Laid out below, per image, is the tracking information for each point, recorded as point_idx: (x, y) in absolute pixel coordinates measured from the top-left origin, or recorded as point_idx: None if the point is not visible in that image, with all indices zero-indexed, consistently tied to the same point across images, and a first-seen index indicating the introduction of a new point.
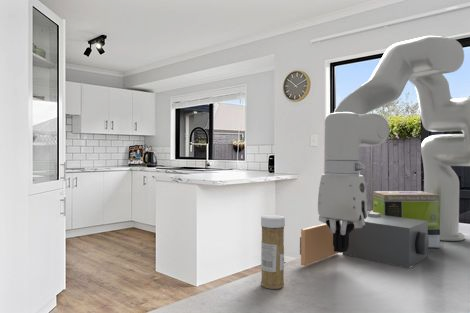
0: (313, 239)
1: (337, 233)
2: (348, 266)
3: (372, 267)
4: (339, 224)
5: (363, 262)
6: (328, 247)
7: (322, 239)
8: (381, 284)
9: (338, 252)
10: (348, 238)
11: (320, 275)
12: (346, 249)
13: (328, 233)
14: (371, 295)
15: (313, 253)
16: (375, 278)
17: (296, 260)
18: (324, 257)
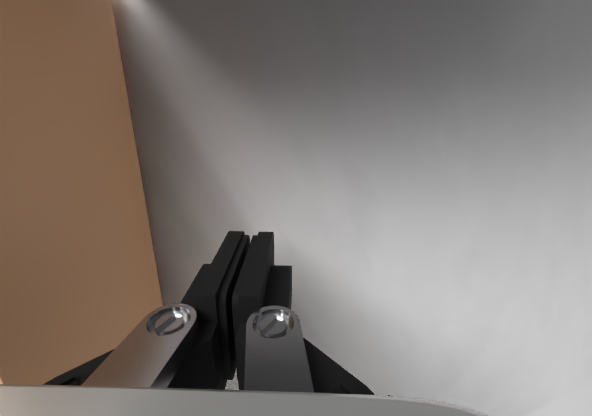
0: (88, 349)
1: (219, 372)
2: (276, 175)
3: (370, 103)
4: (168, 381)
5: (299, 48)
6: (101, 143)
7: (75, 243)
8: (463, 285)
9: (110, 4)
10: (289, 303)
11: None
12: (272, 243)
13: (22, 165)
14: (457, 380)
15: (136, 293)
16: (428, 242)
17: None
18: (138, 177)
